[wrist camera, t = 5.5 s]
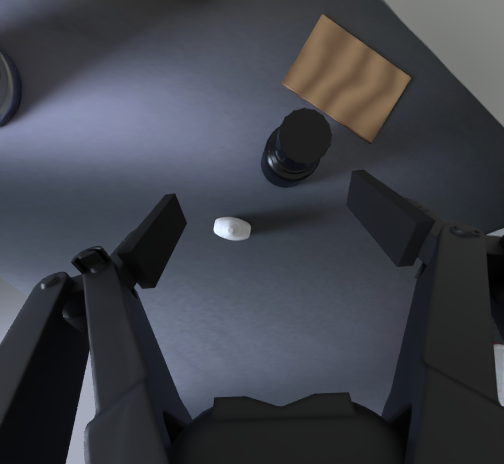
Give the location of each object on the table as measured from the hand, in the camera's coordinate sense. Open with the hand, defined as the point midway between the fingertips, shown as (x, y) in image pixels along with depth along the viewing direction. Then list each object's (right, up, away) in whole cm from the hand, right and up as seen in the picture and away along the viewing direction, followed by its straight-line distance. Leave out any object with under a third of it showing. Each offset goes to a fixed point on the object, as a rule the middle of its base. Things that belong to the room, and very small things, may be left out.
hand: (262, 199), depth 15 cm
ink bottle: (+5, +10, +22) cm, 24 cm away
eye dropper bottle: (-4, -2, +22) cm, 22 cm away
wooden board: (+17, +25, +21) cm, 37 cm away
